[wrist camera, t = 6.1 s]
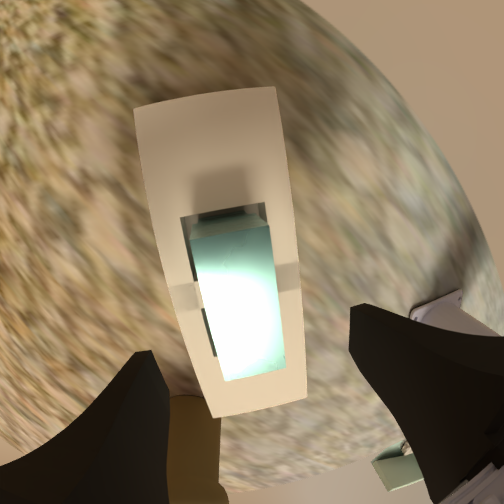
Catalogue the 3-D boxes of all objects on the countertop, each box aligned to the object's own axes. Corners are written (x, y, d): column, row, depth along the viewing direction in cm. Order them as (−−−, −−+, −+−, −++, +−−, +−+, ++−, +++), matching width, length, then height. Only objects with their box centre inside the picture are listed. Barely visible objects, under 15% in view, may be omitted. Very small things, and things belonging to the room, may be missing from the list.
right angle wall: (447, 412, 35) (468, 436, 28) (407, 455, 37) (423, 479, 30) (417, 415, 31) (442, 445, 24) (370, 461, 34) (388, 492, 26)
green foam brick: (263, 314, 18) (286, 367, 13) (217, 323, 17) (225, 381, 12) (246, 206, 16) (269, 225, 10) (193, 215, 15) (189, 239, 10)
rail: (292, 365, 22) (307, 397, 18) (209, 383, 21) (213, 418, 17) (259, 103, 16) (275, 86, 12) (148, 121, 15) (133, 108, 11)
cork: (153, 392, 21) (143, 503, 10) (222, 395, 22) (241, 506, 11) (159, 432, 22) (157, 526, 12) (219, 434, 23) (235, 527, 13)
